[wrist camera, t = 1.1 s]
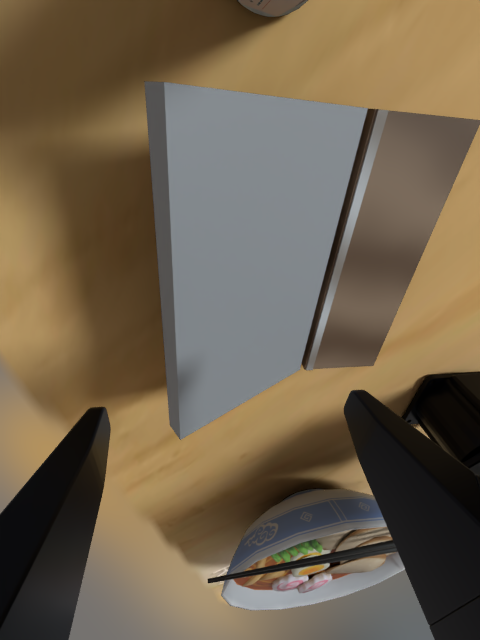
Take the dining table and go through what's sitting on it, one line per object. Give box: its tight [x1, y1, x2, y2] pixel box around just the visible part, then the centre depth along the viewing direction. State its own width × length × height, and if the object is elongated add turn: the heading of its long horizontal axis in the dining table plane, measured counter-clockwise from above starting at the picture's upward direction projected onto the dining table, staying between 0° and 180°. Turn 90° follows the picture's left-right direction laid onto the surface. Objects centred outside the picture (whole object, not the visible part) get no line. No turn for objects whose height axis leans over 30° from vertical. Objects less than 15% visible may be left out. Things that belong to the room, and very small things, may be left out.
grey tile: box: [145, 81, 368, 440], centre depth 16 cm, size 16×10×1 cm, turn 175°
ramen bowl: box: [208, 489, 405, 610], centre depth 36 cm, size 25×23×8 cm
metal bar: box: [302, 109, 480, 370], centre depth 20 cm, size 16×6×2 cm, turn 175°
